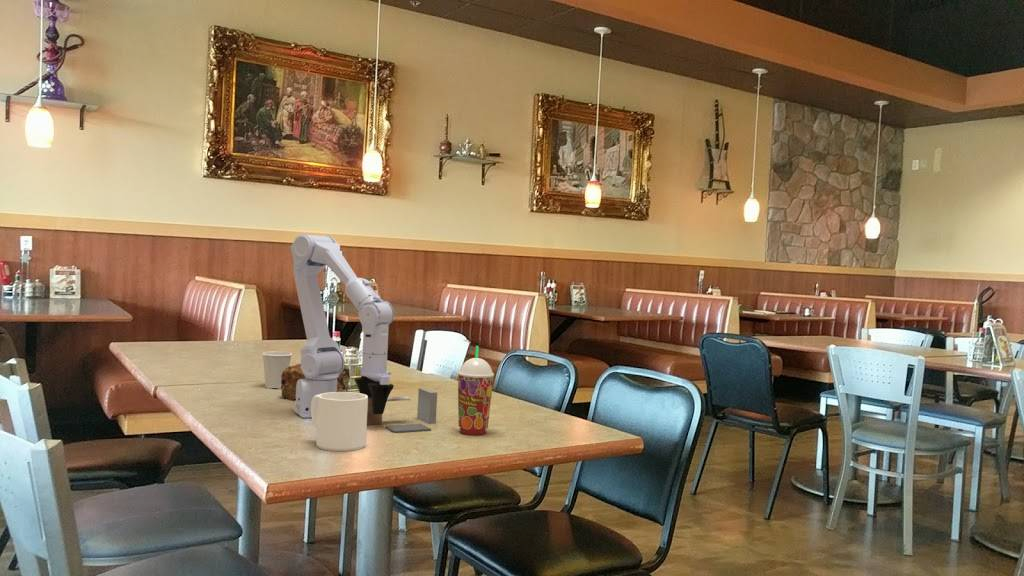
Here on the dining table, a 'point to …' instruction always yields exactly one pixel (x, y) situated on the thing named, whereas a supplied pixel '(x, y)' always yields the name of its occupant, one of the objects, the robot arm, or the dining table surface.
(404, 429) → the mat
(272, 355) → the dixie cup
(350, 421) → the mug
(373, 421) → the brown white angled block
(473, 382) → the smoothie
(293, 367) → the bread
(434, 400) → the tile
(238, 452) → the dining table surface
